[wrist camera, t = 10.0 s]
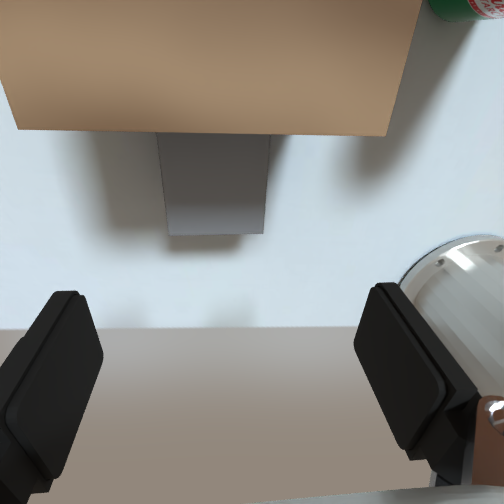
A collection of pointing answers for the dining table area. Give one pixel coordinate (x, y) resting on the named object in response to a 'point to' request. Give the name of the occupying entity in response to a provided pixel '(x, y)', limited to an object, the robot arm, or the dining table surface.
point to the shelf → (205, 65)
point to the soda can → (468, 9)
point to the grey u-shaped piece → (214, 182)
